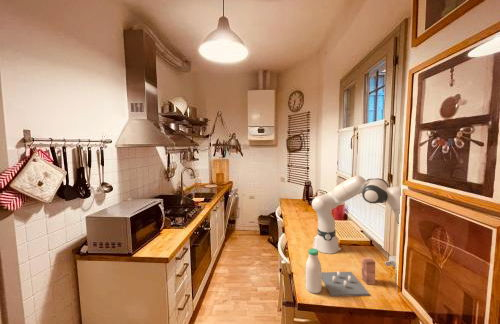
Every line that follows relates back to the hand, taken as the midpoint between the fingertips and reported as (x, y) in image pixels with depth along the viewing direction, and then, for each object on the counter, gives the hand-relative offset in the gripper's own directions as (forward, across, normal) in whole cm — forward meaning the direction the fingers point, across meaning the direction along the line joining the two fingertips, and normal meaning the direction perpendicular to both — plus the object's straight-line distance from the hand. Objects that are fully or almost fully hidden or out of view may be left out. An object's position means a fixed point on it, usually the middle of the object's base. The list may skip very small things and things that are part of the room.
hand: (391, 268), depth 110 cm
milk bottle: (+42, +5, +7) cm, 43 cm away
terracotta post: (+12, 0, +7) cm, 14 cm away
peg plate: (+27, +2, +7) cm, 27 cm away
